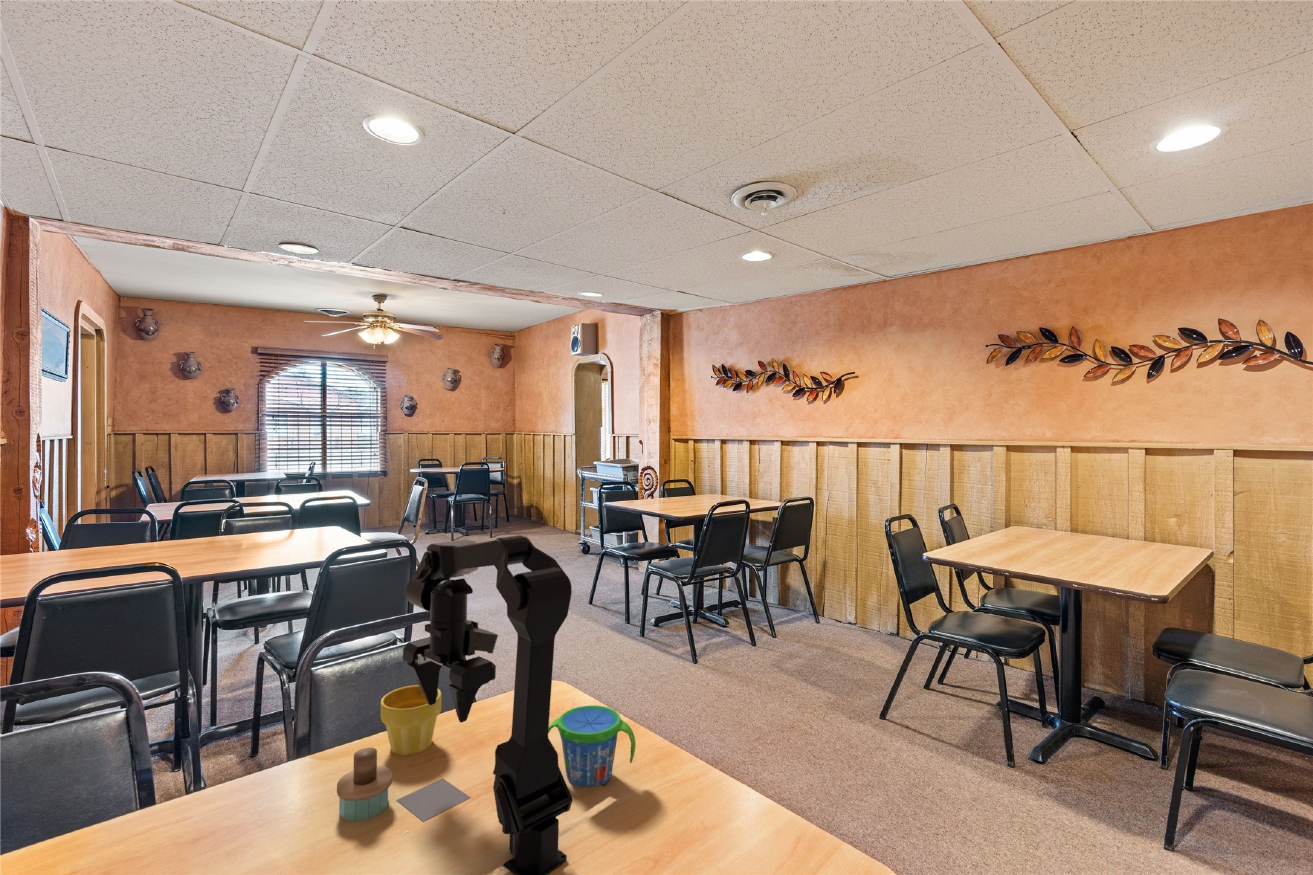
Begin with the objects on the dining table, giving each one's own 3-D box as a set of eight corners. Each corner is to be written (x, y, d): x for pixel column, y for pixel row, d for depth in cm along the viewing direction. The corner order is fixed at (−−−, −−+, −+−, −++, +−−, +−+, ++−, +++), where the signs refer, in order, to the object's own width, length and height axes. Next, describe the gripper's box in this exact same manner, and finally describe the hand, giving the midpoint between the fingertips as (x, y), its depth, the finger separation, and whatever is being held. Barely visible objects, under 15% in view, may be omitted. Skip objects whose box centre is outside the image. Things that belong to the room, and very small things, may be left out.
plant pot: (373, 767, 105) (373, 710, 105) (387, 737, 116) (388, 686, 115) (436, 761, 107) (436, 706, 107) (444, 733, 118) (445, 682, 117)
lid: (401, 784, 94) (401, 752, 93) (350, 807, 88) (351, 772, 88) (377, 766, 98) (378, 735, 98) (328, 786, 93) (328, 754, 92)
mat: (470, 802, 96) (470, 797, 96) (423, 827, 90) (423, 821, 90) (442, 783, 101) (442, 778, 101) (396, 805, 95) (396, 800, 95)
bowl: (395, 810, 93) (396, 784, 93) (351, 831, 88) (352, 804, 88) (375, 793, 98) (375, 768, 98) (332, 813, 93) (332, 786, 93)
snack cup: (532, 789, 100) (533, 727, 100) (556, 756, 110) (557, 700, 110) (625, 803, 96) (626, 739, 96) (641, 768, 107) (642, 710, 107)
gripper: (524, 618, 100) (522, 713, 101) (460, 597, 112) (458, 682, 112) (464, 635, 92) (462, 738, 92) (402, 610, 104) (400, 701, 104)
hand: (447, 712), depth 100 cm, fingers open, 9 cm apart
